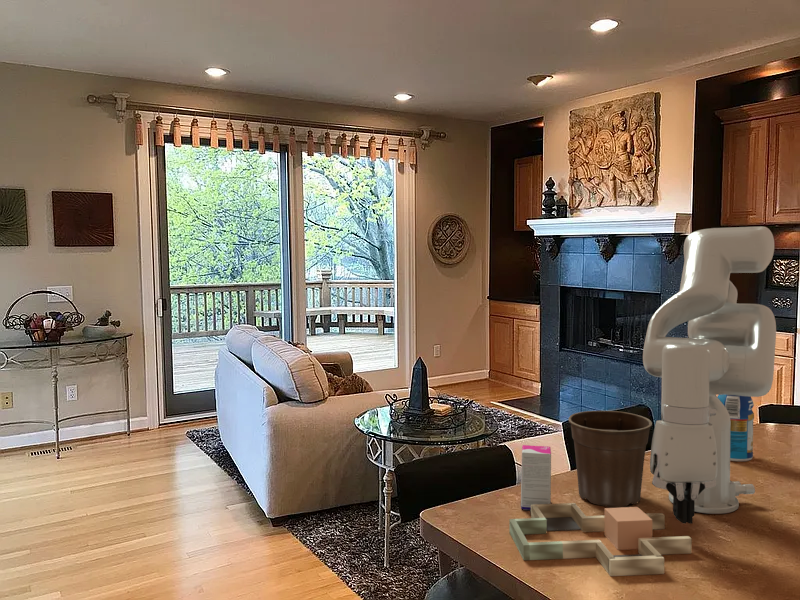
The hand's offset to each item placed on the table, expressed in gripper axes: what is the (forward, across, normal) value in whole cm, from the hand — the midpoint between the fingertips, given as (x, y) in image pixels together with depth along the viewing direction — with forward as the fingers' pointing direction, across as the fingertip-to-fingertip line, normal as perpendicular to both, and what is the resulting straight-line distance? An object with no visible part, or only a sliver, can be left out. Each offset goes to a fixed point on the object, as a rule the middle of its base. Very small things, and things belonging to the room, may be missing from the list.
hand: (683, 520), depth 114 cm
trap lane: (+4, +14, -1) cm, 15 cm away
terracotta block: (+4, +9, -1) cm, 10 cm away
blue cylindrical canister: (+2, -34, -45) cm, 56 cm away
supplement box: (+4, +21, -19) cm, 28 cm away
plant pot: (+3, +5, -22) cm, 23 cm away
